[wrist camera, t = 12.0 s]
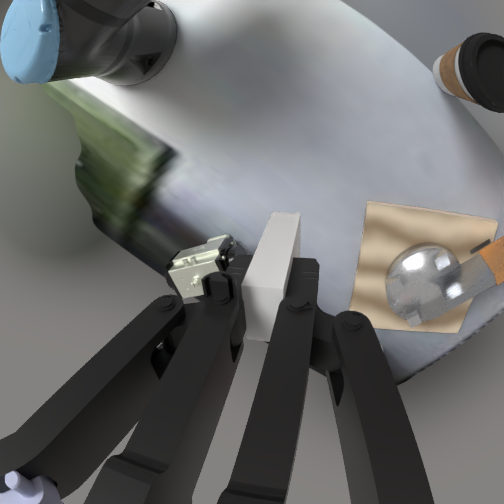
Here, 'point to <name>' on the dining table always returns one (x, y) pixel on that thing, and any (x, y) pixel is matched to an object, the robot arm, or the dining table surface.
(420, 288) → the silver saucepan
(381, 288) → the light wood square board
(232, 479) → the robot arm
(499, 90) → the coffee cup
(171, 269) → the pneumatic valve
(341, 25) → the dining table surface
